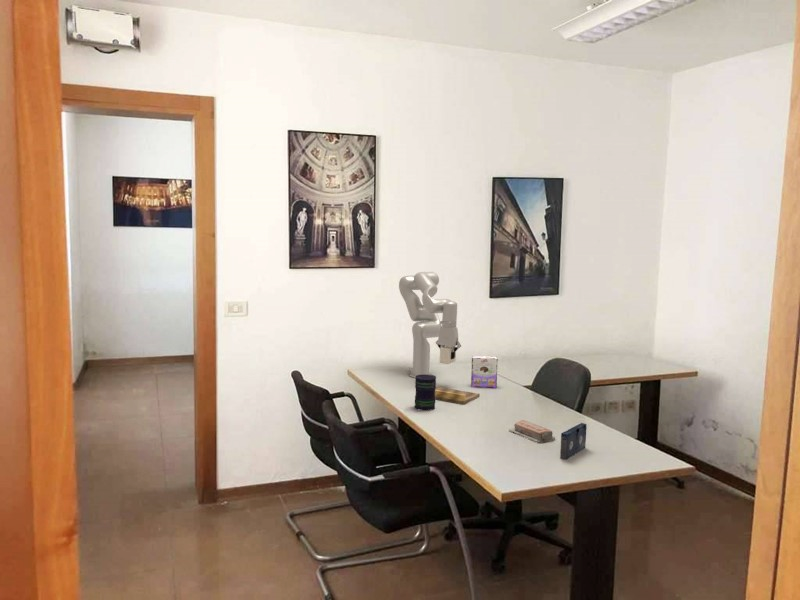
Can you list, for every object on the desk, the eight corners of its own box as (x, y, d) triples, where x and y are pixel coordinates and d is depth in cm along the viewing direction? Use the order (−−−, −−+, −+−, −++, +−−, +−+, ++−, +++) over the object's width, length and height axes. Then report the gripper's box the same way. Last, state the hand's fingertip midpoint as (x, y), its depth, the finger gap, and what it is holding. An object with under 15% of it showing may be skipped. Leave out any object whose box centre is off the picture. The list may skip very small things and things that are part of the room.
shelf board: (421, 396, 327) (421, 388, 327) (437, 389, 343) (438, 381, 342) (464, 404, 315) (464, 395, 314) (479, 396, 330) (479, 388, 330)
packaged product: (556, 429, 266) (539, 433, 260) (556, 440, 266) (538, 444, 261) (526, 417, 281) (508, 420, 276) (525, 428, 281) (508, 432, 276)
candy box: (496, 385, 354) (497, 356, 352) (496, 388, 348) (498, 358, 346) (470, 384, 355) (471, 355, 354) (470, 387, 350) (472, 357, 348)
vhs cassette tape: (579, 446, 259) (581, 422, 258) (586, 448, 257) (588, 424, 256) (558, 458, 245) (559, 432, 244) (565, 460, 243) (567, 434, 242)
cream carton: (439, 362, 344) (439, 348, 343) (446, 359, 352) (447, 345, 351) (447, 364, 341) (448, 349, 340) (455, 361, 349) (456, 346, 348)
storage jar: (436, 410, 303) (437, 379, 302) (415, 410, 303) (416, 379, 301) (434, 404, 313) (435, 374, 312) (413, 404, 313) (414, 374, 311)
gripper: (431, 323, 345) (430, 356, 347) (460, 327, 336) (458, 361, 339) (438, 321, 351) (436, 354, 354) (466, 325, 343) (465, 359, 345)
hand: (447, 357), depth 346 cm, fingers closed on cream carton, 5 cm apart
